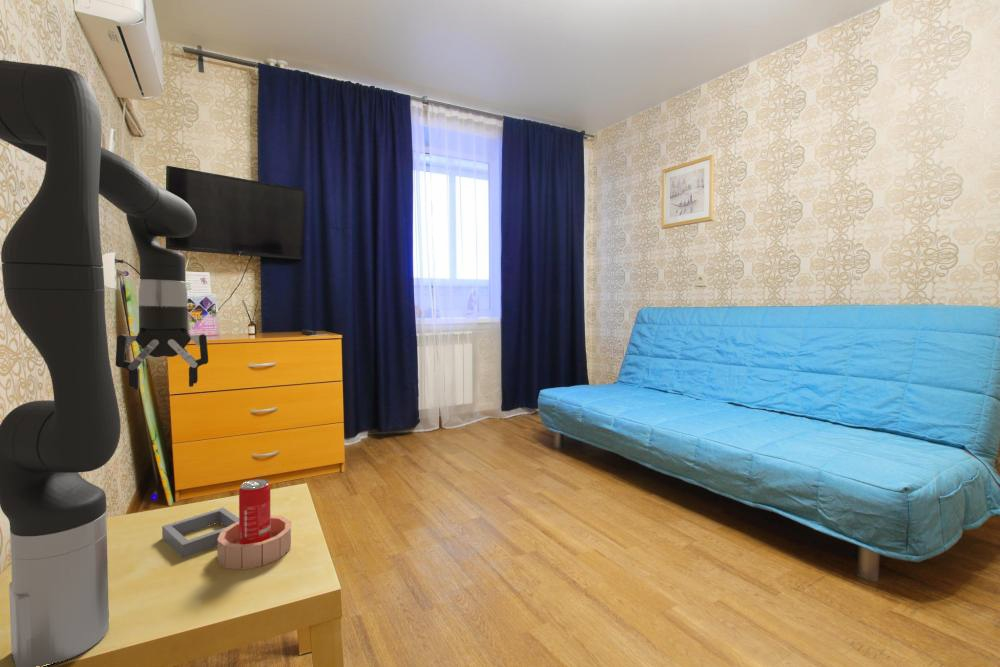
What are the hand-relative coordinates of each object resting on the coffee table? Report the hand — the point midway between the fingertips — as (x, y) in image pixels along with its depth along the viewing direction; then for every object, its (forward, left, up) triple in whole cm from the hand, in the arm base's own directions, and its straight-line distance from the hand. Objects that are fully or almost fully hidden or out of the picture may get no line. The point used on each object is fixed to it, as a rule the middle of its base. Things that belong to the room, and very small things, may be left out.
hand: (164, 387), depth 87 cm
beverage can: (+9, -18, -29) cm, 35 cm away
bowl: (+9, -18, -30) cm, 36 cm away
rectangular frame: (+5, -5, -30) cm, 31 cm away
